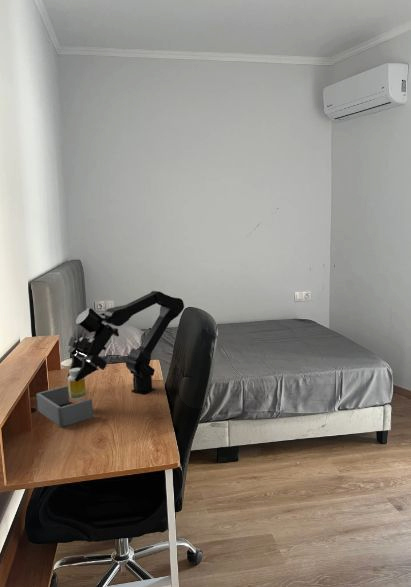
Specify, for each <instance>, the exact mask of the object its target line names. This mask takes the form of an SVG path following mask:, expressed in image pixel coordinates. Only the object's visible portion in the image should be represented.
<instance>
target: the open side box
mask: <svg viewBox="0 0 411 587" xmlns="http://www.w3.org/2000/svg"><path fill="white" fill-rule="evenodd" d="M35 398H36V399H35V400H36V409H37V412H39V413H40V414H42V415H43V416H45V417H46V418H47V419H48V420H50V421H51V422H52V423H54V424H55V425H57V426H58V427H60V428H63V427H67V426H70V425H72V424H77V423H79V422H82V421H83V422H84V421H86V420H89V419H94V408H93V399H92V398H87V399H84V400H81V401H77V402H75V403H71V404H70V394H69V385H64V386H60V387H57V388H56V387H55V388H53V389H52V388H51V389H48V390H43V391H41V392H37V393H35ZM65 404H66V405H65ZM67 404H68V405H67ZM62 405H64V406H62Z"/></svg>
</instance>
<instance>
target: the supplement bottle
mask: <svg viewBox="0 0 411 587" xmlns="http://www.w3.org/2000/svg"><path fill="white" fill-rule="evenodd" d="M79 370H80V368H73V369H70V368H69V370H68V373H69V374H70V376H69V377H68V376H67V384H68V385H67V386H68V393H69V399H71V400H80V399H83V398H85V397H86V396H87V391H86V390H87V389H86V380H85V377H84V378H83V379H81V380H79V381H78V382H77V381H75V378H76V376H77V374H78V372H79Z"/></svg>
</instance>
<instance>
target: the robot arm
mask: <svg viewBox="0 0 411 587" xmlns="http://www.w3.org/2000/svg"><path fill="white" fill-rule="evenodd" d="M184 303H185V302H184V300H183V299H182V298H179V297H173V296H171V295H168V294H166V293H163V292H162V291H157V290H152V291H151V292H150V293H147V294H146V295H143V296H141V297H139V298H137V299H135V300H133V301H131V302H129V303H126V304H123V305H118V306H114V307H111V308H110V307H109V308H107V309H105V311H104V312H103V313H99V314H98V313H97V312H96V311H95V310H94V309H93V308H92V307H87V308H86V309H85V310H84V311H82V312H80V314H79V315H78V316H77V318H76V320H75V323H76V324H77V325H78V326H80V327H81V328H82V329H84V330H85V331H86V332H87V333H88V334H89V333H90V334H91V333H92V334H91V336H90V337H89V336H88V337H82V336H81V337H80V338H78V337H74V336H70V338H69V342H68V346H67V347H70V348H69V349H68V351H67V352H68V354H70V357H71V365H70V368H69V370H70V369H73V368H80V370H79V372H78V374H77V376H76V378H75V381H77V382H78V381H79V380H81V379H83V378H84V379H85V378H86V377H87V376H89V375H90V374H93V373H94V372H96V371H99V370H102V371H104V370H105V369H106V368H107V366H108V365H107V361H106V360H105V359H103V358H102V357H100V354H101V353H102V351H106V349H107V347H106V346H107V344H108V343H109V341H110V339H111V338H112V336H115V337H119V336H120V333H119V329H118V328H116V327H120V326H123V325H124V324H126V323H127V322H129V320H130V319H131V317H133V316H134V315H136V314H137V313H140V312H142V311H144V310H147V309H148V308H150V307H152V306H154V305H156V304H157V305H159V306H160V307H159V315H158V316H157V318H156V320H155V322H154V324H153V325H152V326H151V329H150V330H149V332H148V333H147V335H146V336H145V338H144V339H143V341H142V343H141V345H140V346H139V347H138V348H131V350H130V351H129V353H128V355H127V356H126V357H125V359H126V361H125V367H126V369H127V370H129V372H130V374H132V375H133V376H132V377H133V378H132V382H133V389H131V390H130V391H131V392H133V393H135V394H141V395H146V394H149V393H150V392H152V391H155V390H156V387H155V386H154V387H153V381H152V379H153V378H152V377H153V376H154V375H155V371H156V370H155V368H154V367H152V366H150V363H151V361H152V359H151V358H152V353H153V351H154V349H155V348H156V346H157V344H159V341H160V340H161V338H162V336H163V335H164V333H165V332H166V330H167V328H168V326H169V325H170V323H171V322H172V321H173V320H175V319H176V318H177V317H179V316H180V314H181V313H182V312H183V311H184V309H185V304H184ZM104 323H106V324H104ZM112 326H115V327H114V328H113V327H112ZM67 374H68V375H67V378H68V377H69V376H70V374H69V372H68V373H67Z"/></svg>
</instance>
